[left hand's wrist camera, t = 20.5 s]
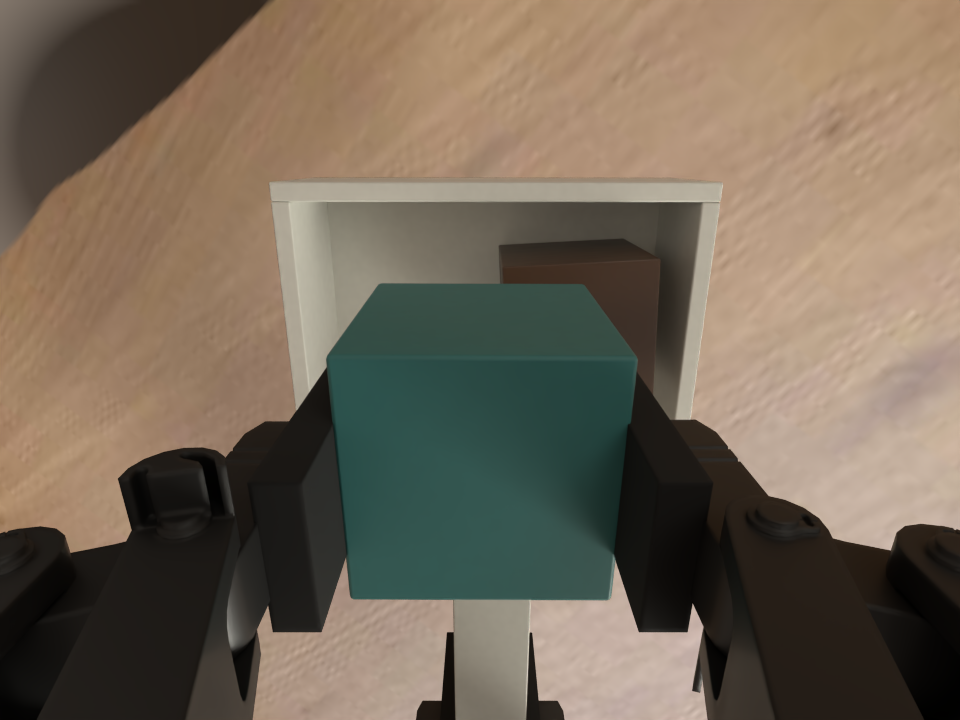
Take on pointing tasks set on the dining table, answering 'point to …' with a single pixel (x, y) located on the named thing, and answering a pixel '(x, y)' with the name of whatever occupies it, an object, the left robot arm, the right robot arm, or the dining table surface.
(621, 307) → the walnut cube
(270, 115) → the dining table surface
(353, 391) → the teal cube
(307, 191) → the box
